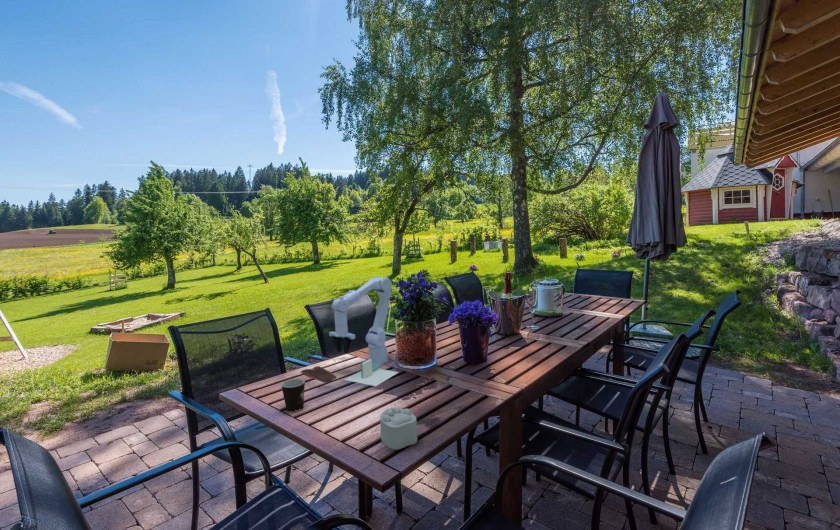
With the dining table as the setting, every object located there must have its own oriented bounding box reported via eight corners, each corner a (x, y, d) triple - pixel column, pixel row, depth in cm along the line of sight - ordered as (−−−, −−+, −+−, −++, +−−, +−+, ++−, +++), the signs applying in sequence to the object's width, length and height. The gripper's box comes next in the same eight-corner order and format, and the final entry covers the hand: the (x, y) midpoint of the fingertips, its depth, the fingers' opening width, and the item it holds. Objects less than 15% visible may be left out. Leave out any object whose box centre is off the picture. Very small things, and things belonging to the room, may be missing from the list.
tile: (369, 373, 182) (368, 359, 182) (372, 374, 181) (371, 359, 181) (361, 377, 177) (360, 363, 176) (364, 378, 176) (363, 363, 176)
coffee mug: (293, 415, 144) (291, 389, 143) (278, 410, 149) (276, 385, 148) (317, 402, 154) (315, 378, 153) (302, 398, 159) (300, 374, 158)
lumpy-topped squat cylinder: (392, 452, 117) (390, 424, 116) (374, 433, 128) (373, 408, 128) (421, 441, 122) (420, 415, 122) (402, 424, 134) (401, 400, 133)
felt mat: (368, 367, 191) (368, 366, 191) (398, 373, 182) (398, 372, 182) (344, 380, 176) (344, 379, 176) (375, 387, 167) (375, 386, 167)
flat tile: (369, 367, 191) (369, 363, 191) (380, 369, 188) (380, 365, 187) (361, 371, 186) (361, 367, 186) (373, 373, 182) (373, 369, 182)
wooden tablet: (344, 378, 176) (324, 382, 170) (344, 383, 176) (324, 387, 170) (318, 365, 196) (299, 368, 190) (318, 369, 196) (299, 372, 190)
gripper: (323, 324, 183) (325, 352, 184) (347, 327, 176) (349, 356, 177) (334, 321, 189) (335, 348, 190) (357, 324, 182) (359, 352, 183)
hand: (342, 352), depth 184 cm, fingers open, 4 cm apart
